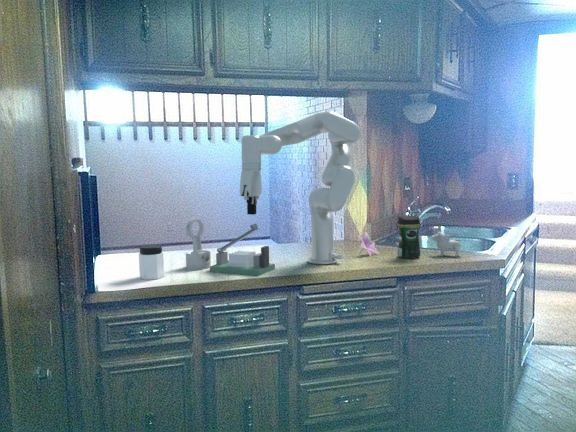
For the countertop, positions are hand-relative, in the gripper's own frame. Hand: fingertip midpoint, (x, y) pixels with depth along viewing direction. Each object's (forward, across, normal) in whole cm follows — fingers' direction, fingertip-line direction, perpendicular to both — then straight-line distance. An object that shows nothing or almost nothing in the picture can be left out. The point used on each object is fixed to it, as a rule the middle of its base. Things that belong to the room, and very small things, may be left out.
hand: (251, 214), depth 211 cm
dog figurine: (+22, -61, +66) cm, 92 cm away
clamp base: (+23, 0, -5) cm, 23 cm away
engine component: (+23, +2, -25) cm, 34 cm away
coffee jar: (+22, -51, +51) cm, 75 cm away
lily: (+22, -51, +33) cm, 64 cm away
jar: (+24, +24, -30) cm, 45 cm away
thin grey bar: (+11, 0, -6) cm, 13 cm away
